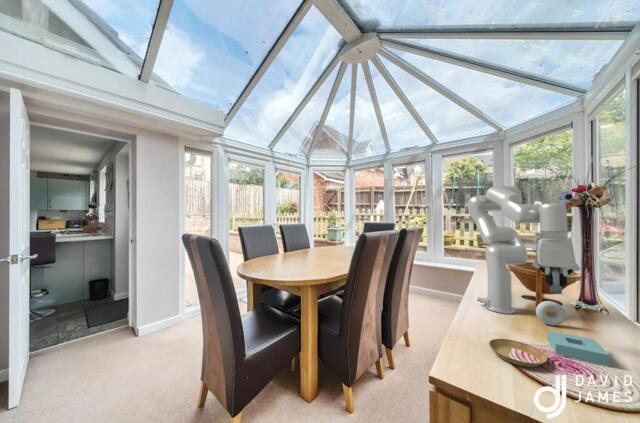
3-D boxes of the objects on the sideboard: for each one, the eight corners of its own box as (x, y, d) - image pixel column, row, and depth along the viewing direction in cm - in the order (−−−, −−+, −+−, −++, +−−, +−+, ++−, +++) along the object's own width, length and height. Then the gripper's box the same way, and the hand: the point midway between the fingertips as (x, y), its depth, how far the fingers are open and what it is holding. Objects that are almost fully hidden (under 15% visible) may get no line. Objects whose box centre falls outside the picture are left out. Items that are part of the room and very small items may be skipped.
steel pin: (551, 293, 91) (550, 265, 91) (549, 291, 93) (548, 264, 94) (562, 294, 89) (561, 266, 90) (560, 292, 92) (559, 265, 92)
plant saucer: (553, 378, 70) (553, 368, 70) (490, 361, 77) (490, 353, 77) (541, 354, 82) (541, 346, 82) (487, 342, 90) (487, 334, 90)
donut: (563, 325, 104) (562, 301, 104) (568, 328, 101) (567, 304, 101) (534, 321, 107) (533, 298, 108) (538, 325, 104) (537, 301, 104)
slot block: (555, 354, 81) (555, 343, 81) (547, 339, 91) (547, 330, 91) (609, 367, 75) (609, 355, 75) (594, 349, 85) (594, 339, 85)
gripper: (527, 235, 94) (528, 285, 93) (588, 237, 85) (591, 291, 84) (524, 235, 100) (525, 281, 99) (580, 236, 91) (583, 287, 90)
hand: (555, 285), depth 91 cm, fingers closed on steel pin, 3 cm apart
